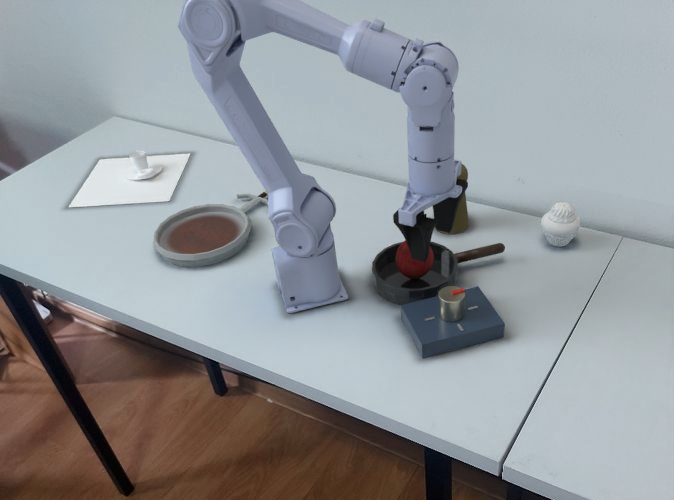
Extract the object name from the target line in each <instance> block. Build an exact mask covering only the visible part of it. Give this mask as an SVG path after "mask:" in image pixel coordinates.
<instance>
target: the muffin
mask: <svg viewBox="0 0 674 500" xmlns="http://www.w3.org/2000/svg"><path fill="white" fill-rule="evenodd" d="M540 223H541V227H542V228H541V229H542V232H543V233H544V236H545V238H546V240H547V242H548V243H549V245H551V246H553V247H557V248H558V247H562V248H563V247H565V246H567V245H568V244H569V243H570V242H571V241H572V240H573V238H574V237H576V235H577V234H578V233H579V232H578V231H579V230H580V229H581V225H582V221H581V218H580V217H579V216H578V215H577V213H576V211H575V207H574V206H573V204H571V203H569V202H566V201H559V202H556V203H555V204H553V205H552V206H551V209H550V210H549V211H547V212H545V214H543V216H542V217H541V221H540Z"/></svg>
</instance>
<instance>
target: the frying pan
mask: <svg viewBox="0 0 674 500" xmlns="http://www.w3.org/2000/svg"><path fill="white" fill-rule="evenodd" d="M266 197H268V194H267V192H266V190H263V192H262V193H260V194H259V195H255V194H251V193H237V194H236V198H237V200H238V199H250V200H249V201H247V202H246V203H244V204H243V205H242V206H240V207H239V208H238V207H236V206H234V205H229V204H223V203H206V204H199V205H193V206H191V207H188V208H184V209H182V210H181V209H180V210H179V211H177V212H175V213H173V214H171V215H169V216H168V217H167V218H165V219H164V220H163V221H161V222H160V223H159V224H158V226H157V228H156V229H155V231H154V233H153V238H152V245H153V247H154V249H155V251H156V252H157V253H159V254H160V255H161V257H162V258H163V259H164V260H166V261H167V262H169V263H170V264H172V265H176V266H181V267H185V268H186V267H187V268H188V267H191V268H194V267H195V268H198V267H205V266H210V265H211V266H212V265H214V264H217V263H220V262H223V261H225V260H228V259H230V258H231V257H233V256H234V255H236V254H238V253H239V252H240V251H241V250H242V249H243V248H244V247H245V246H246V245H247V242H248V240H249V237H250V232H251V229H252V223H251V219H250V218H249V217H248V215H247V214H246V213H245V212H246V211H248V210H249V209H251V208H252V207H254V206H255V205H256V204H258V203H259V202H260V203H263V204H266V206H267V207H268V198H266Z"/></svg>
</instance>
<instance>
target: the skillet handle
mask: <svg viewBox="0 0 674 500" xmlns="http://www.w3.org/2000/svg"><path fill="white" fill-rule="evenodd" d="M505 250H506V246H505V244H504V243H503V242H498V243H493V244H488V245H484V246H480V247H477V248H472V249H467V250H464V251H459V252H456V253H454V255H455V256H456V258H457V262H458V264H462V263H466V262H469V261H474V260H478V259H483V258H487V257H489V256H495V255H499V254H503V253H504V252H505Z"/></svg>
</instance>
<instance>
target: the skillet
mask: <svg viewBox="0 0 674 500" xmlns="http://www.w3.org/2000/svg"><path fill="white" fill-rule="evenodd" d="M403 242H404V241H400V242H395V243H392V244H391V245H389V246H386V247H385V248H383V249H382V250H381V251H379V252H378V253H377V254H376V255H375V257H374V259H373V261H372V264H371V266H372V267H371V274H372V284H373V287H374V290H375V291H376V294H378V295H379V296H380V298H383V299H384V300H386V301H387V302H390V303H392V304H395V305H398V306H401V305H404V304H408V303H412V302H416V301H420V300H424V299H428V298H432V297H436V296H438V294H439V291H440V290H441V289H442V288H444V287H447V286H456V287H457V285H458V281H459V263H458V262H457V258H456V256H455V255H454V254H455V253H454V252H453V251H452V250H451V249H450V248H448V247H446V246H445V245H443V244H441V243H438V242H434V241H431V242H430V247H431V249H432V251H433V255H434V261H433V265H432V268H431V269H430V271H429V272H428V273H427V274H426V275H424V276H423V277H421V278H418V279H410V278H408V277H405V276H404V275H403V274H402V273H401V272H400V271H399V270H398V268H397V265H396V261H395V257H396V253H397V249H398V247H399V246H400V245H401V244H402V243H403Z"/></svg>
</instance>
